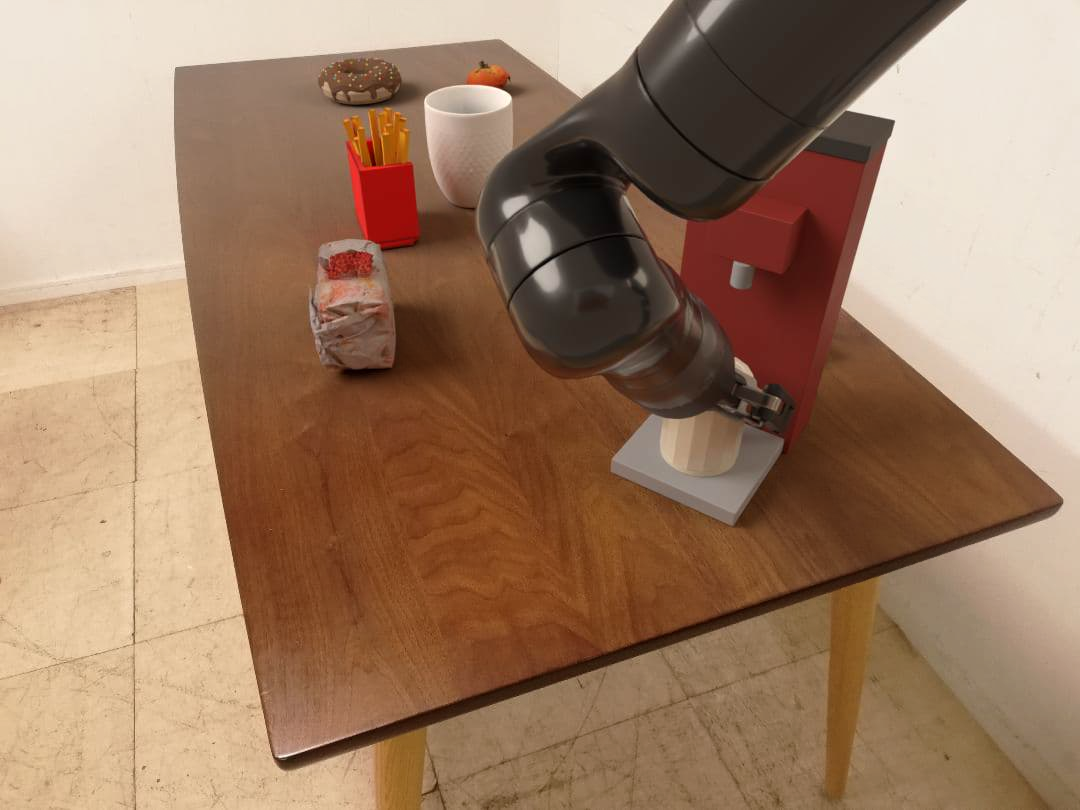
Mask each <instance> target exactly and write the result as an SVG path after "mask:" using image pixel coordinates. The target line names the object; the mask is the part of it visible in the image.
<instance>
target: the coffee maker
mask: <svg viewBox="0 0 1080 810" xmlns="http://www.w3.org/2000/svg"><path fill="white" fill-rule="evenodd" d="M895 123H896V120H895V119H890V118H887V117H886V118H885V117H881V116H877V115H871V114H867V113H861V112H857V111H852V110H848V109H847V110H846V111H845V112H844V113H843V114H841V115H840V116H839V117H838V118H837V119H836V120H835V121H834V122H833V123H832V124H831V125H830V126H829V127H828V128H827V129H826V130H824V131H823V132H822V133H821V134H820V135H819V136H818V137H817V138H816V139H815V140H814V141H813V142H812V143H810V144H809V145H808V146H807V147H806V148H805V149H804V150H803V151H802V152H801V153H800V154H799V155H798V156H796V157H795V158H794V159H793V160H792V161H791V162H790V163H789V164H788V165H787V166H786V167H785V168H784V169H783V170H781V171H780V172H779V173H778V174H777V175H776V176H774V178H773V179H772V180H771V181H769V182H768V183H767V184H766V185H765V186H764V187H763V188H762V189H761V190H760V191H759V192H758V193H757V194H755V195H754V196H753V197H752V198H751V199H750V200H749V201H747V202H746V203H745V204H744V205H743V206H741V207H740V208H738V209H737V210H736V211H734V212H733V213H731V214H730V215H728V216H726V217H724V218H721V219H719V220H715V221H711V222H694V221H689V220H686V226H685V234H684V241H683V247H682V248H683V250H682V257H681V264H680V272H679V276H680V277H681V279H682V280H683V281H684V283H685V284H686V286H687V287H688V288H689V289H690V290H691V291H692V292H694V293H695V294H696V295H697V296H698V297H699V298H700V299H701V300H702V301H703V302H704V303H705V304H706V306H707V307H708V308H709V310H710V311H711V313H712V314H713V316H714V317H715V318H716V320H717V321H718V323H719V324H720V325H721V327H722V328H723V330H724V331H725V333H726V334H727V336H728V338H729V339H730V342H731V344H732V347H733V351H734V357H736V358H738V359H739V360H741V361H742V362H743V363H745V364H746V365H747V366H748V367H749V369H750V370H751V372H752V374H753V375H754V378H755V379H756V381H757V387H758V388H759V389H761V390H764V387H765V385H769V383H772V384H775V383H777V384H779V385H781V386H782V387H783V388H784V389H786V390H787V392H788V393H789V394H790V395H791V397H792V398H793V399H794V401H795V402H796V403H797V406H796V408H795V410H794V413H793V415H792V418H791V420H790V422H789V425H788V427H787V429H786V432H785V434H784V435H781V434H779V435H777V434H774V433H772V431H771V430H769V429H768V428H767V427H765V426H764V427H763V429H762V430H758V429H756V428H753V427H752V426H751V425H750V424H749V423H748V422H747V421H745V425H744V430H743V434H742V439H741V444H740V448H739V453H738V456H737V460H736V462H735V464H734V465H733V467H732V468H731V469H729V470H728V471H727V472H725V473H723V474H720V475H717V476H712V477H697V476H691V475H687V474H684V473H682V472H679V471H678V470H676V469H674V468H673V467H671V466H670V465H669V464H668V463H667V462H666V461H665V460H664V458H663V457H662V455H661V452H660V438H661V430H662V423H663V417H660V416H657V415H655V414H653V413H651V414H650V415H649V417H648V418H646V419H645V421H644V422H643V423H642V424H641V425H640V427H638V429H636V431H635V432H634V433H633V435H631V437H630V438H629V439H628V440H627V441H626V442H625V443H624V444H623V445H622V447H620V449H619V450H618V451H617V452H616V453H615V455H614V456H613V457H612V458H611V463H610V473H612V474H614V475H617V476H619V477H621V478H622V479H626V480H628V481H630V482H632V483H634V484H637V485H639V486H641V487H643V488H646V489H648V490H649V491H652V492H654V493H657V494H658V495H661V496H663V497H666V498H668V499H669V500H672V501H673V502H674V501H675V502H677V503H679V504H681V505H684V506H686V507H688V508H690V509H692V510H694V511H696V512H699V513H701V514H703V515H706V516H708V517H710V518H712V519H714V520H717V521H719V522H721V523H723V524H726V525H727V526H730V527H734V526H735V525H736V523H737V521H738V520H739V518H740V516H741V515H742V513H743V512H744V510H745V509H746V507H747V506H748V504H749V503H750V501H751V500H752V498H753V497H754V495H755V493H756V492H757V490H758V489H759V487H761V485H762V483H763V481H764V480H765V478H766V477H767V475H768V473H769V472H770V470H771V469H772V467H773V466H774V465H775V463H776V461H777V460H778V458H780V456H781V454H782V453H784V454H789V453H790V451H791V449H792V448H793V446H794V444H795V443H796V441H797V440H798V438H799V437H800V435H801V434H802V432H803V431H804V429H805V427H806V426H807V424H808V423H809V422H810V419H811V415H812V412H813V408H814V405H815V401H816V399H817V394H818V390H819V387H820V383H821V379H822V376H823V372H824V369H825V365H826V362H827V358H828V356H829V352H830V349H831V344H832V340H833V336H834V333H835V330H836V326H837V324H838V323H837V322H838V319H839V315H840V312H841V309H842V305H843V301H844V298H845V295H846V291H847V288H848V284H849V280H850V277H851V273H852V270H853V266H854V262H855V259H856V255H857V252H858V248H859V245H860V241H861V238H862V233H863V231H864V227H865V223H866V220H867V216H868V214H869V213H868V212H869V208H870V205H871V202H872V199H873V195H874V191H875V188H876V184H877V180H878V178H879V173H880V169H881V167H882V163H883V159H884V155H885V152H886V149H887V145H888V141H889V139H890V138H891V137H892V134H893V130H894V127H895ZM751 408H752V405H750V404H749V407H748V411H747V413H750V410H751Z"/></svg>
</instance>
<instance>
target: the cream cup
mask: <svg viewBox="0 0 1080 810" xmlns="http://www.w3.org/2000/svg"><path fill="white" fill-rule="evenodd" d="M734 358H735V368H737V369H739V370H740V371H742V372H744V373H746V374H748V375H750V376H751V377H753V378H754V375H753V374H752V372H751V370H750V369H749V367H748V366H747V365H746V364H745V363H743V362H742V361H741V360H739V359H738V358H736V357H734ZM717 405H719V406H721V407H723V408H725V407H726V406H727V405H721V404H717ZM748 407H749V403H748V405H747V408H746V411H748ZM744 425H745V420H743V419H742V420H741V421H739V422H736V421H732V420H729V419H726V418H723V417H721V416H719V415H717V414H715V413H713V412H711V411H705V412H703V413H701V414H699V415H696V416H693V417H690V418H685V419H668V418H663V423H662V430H661V438H660V452H661V455H662V457H663V458H664V460H665V461H666V462H667V463H668V464H669V465H670V466H671V467H673V468H674V469H676V470H678V471H679V472H682V473H684V474H687V475H691V476H697V477H712V476H717V475H720V474H723V473H725V472H727V471H728V470H729V469H731V468H732V467H733V465H734V464H735V462H736V460H737V456H738V453H739V448H740V444H741V439H742V434H743V430H744Z"/></svg>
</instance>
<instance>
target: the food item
mask: <svg viewBox="0 0 1080 810" xmlns="http://www.w3.org/2000/svg"><path fill="white" fill-rule="evenodd" d="M317 255H318V267H317V273H316V274H317V284H316V285H315V290H314V291H315V292H314V291H313V287H312V284H311V283H309V286H308V290H309V293H308V300H309V301H308V303H309V306H308V310H309V321H310V326H311V327H310V328H311V331H312V332H311V333H312V335H313V337H314V339H315V340H314V342H315V348H316V352H317V354H318V357H319V359H320V363H321V365H322V366H323V367H324V368H325V369H326V370H327V371H328V370H329V369H331V370H332V371H334V370H345V371H346V370H353V371H356V370H376V369H379V370H381V369H392V368H393V365H394V364H395V356H396V342H397V332H396V321H395V320H396V319H395V312H394V311H395V310H394V309H395V308H396V305H395V303H393V298H392V291H391V287H390V282H389V280H388V279H389V278H388V276H387V275H388V274H387V270H386V269H387V268H388V266H387V263H386V258H385V257H384V254H383V252H382V249H381V250H380V245H379V244H375V243H373V242H372V241H368V240H365V239H357V238H345V239H340V240H333V241H329V242H324V243H323V244H321V245H320V246H319V247H318V253H317ZM313 293H314V295H313Z"/></svg>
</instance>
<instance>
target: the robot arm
mask: <svg viewBox="0 0 1080 810" xmlns="http://www.w3.org/2000/svg"><path fill="white" fill-rule="evenodd" d="M967 1H968V0H672V1H671V2H670V4H669V5H668V6H667V8H666V9H665V10H664V11H663V12H662V14H661V15H660V17H658V19H657V20H656V22H654V24H653V25H652V27H650V29H649V30H648V32H647V33H646V34H645V36H644V37H643V38H642V40H641V41H640V43H639V44H637V46H636V47H635V49H634V50H633V51H632V53H631V54H630V56H629V57H628V58H627V60H626V61H625V62H624V63H623V65H622V66H621V67H620V68H618V70H617V71H616V72H615V73H613V74H611V76H609V77H608V78H607V79H605V80H604V81H603V82H602V83H600V84H599V85H597V86H596V87H594V88H593V89H592V90H591V91H589V92H588V93H587V94H585V95H584V96H583V97H581V98H580V99H579V100H577V101H576V102H575V103H573V104H572V105H571V106H570V107H568V108H567V109H566V110H564V111H563V112H562V113H560V114H558V116H557V117H555V118H554V119H553V120H551V121H550V122H549V123H547V124H545V125H544V126H543V127H541V129H539V130H537V131H536V132H535V133H534V134H533V133H532V135H530V136H529V137H527V138H526V139H524V141H522V142H520V143H519V144H518V145H517V146H515V147H513V149H512V150H511V151H510V152H509V153H507V154H506V155H505V156H504V157H503V158H501V160H500V161H499V162H498V163H497V164H496V165H495V166H494V167H493V169H492V170H491V172H490V173H489V174H488V176H487V178H486V180H485V182H484V184H483V186H482V188H481V191H480V194H479V197H478V200H477V204H476V208H474V210H475V211H474V218H473V220H474V232H475V237H476V240H477V244H478V246H479V249H480V251H481V254H482V256H483V258H484V260H485V263H486V265H487V268H488V269H489V272H490V274H491V276H492V279H493V281H494V284H495V286H496V288H497V290H498V293H499V295H500V297H501V300H502V302H503V305H504V307H505V309H506V312H507V314H508V316H509V320H510V321H511V324H512V326H513V329H514V331H515V334H516V335H517V338H518V340H519V341H520V344H521V345H522V347H523V348H524V350H525V351H526V354H528V355H529V357H530V358H531V359H532V360H533V362H534V363H535V364H536V365H537V366H539V368H540V369H541V370H543V371H544V372H545V373H546V374H548V375H550V376H552V377H553V378H557V379H560V380H568V381H569V380H583V379H587V378H592V377H597V376H602V377H603V378H604V379H605V381H607V383H608V384H609V385H610V386H611V387H612V388H613V389H615V391H617V392H618V393H620V394H621V395H622V396H624V397H626V398H627V399H629V400H630V401H632V402H633V403H635V404H636V405H638V406H640V407H641V408H643V409H645V410H646V412H647V411H648V412H649V413H651V414H652V413H653V414H655V415H657V416H660V417H663V418H668V419H685V418H690V417H693V416H696V415H699V414H701V413H703V412H705V411H711V412H713V413H715V414H717V415H719V416H721V417H723V418H726V419H729V420H732V421H736V422H739V421H741V420H742V419H743V420H745V421H747V422H748V423H749V424H750V425H751V426H752V427H753V428H756V429H758V430H762V429H763V427H764V426H765V427H767V428H768V429H769V430H771V431H772V433H774V434H777V435H779V434H781V435H784V434H785V432H786V429H787V427H788V425H789V422H790V420H791V418H792V415H793V413H794V410H795V408H796V406H797V403H796V402H795V401H794V399H793V398H792V397H791V395H790V394H789V393H788V392H787V390H786V389H784V388H783V387H782V386H781V385H779V384H777V383H775V384H772V383H769V385H765V387H764V390H761V389H759V388H758V387H757V381H756V379H755V378H753V377H751V376H750V375H748V374H746V373H744V372H742V371H740V370H739V369H737V368H735V358H734V351H733V347H732V344H731V342H730V339H729V338H728V336H727V334H726V333H725V331H724V330H723V328H722V327H721V325H720V324H719V323H718V321H717V320H716V318H715V317H714V316H713V314H712V313H711V311H710V310H709V308H708V307H707V306H706V304H705V303H704V302H703V301H702V300H701V299H700V298H699V297H698V296H697V295H696V294H695V293H694V292H692V291H691V290H690V289H689V288H688V287H687V286H686V284H685V283H684V281H683V280H682V279H681V277H680V274H678V272H677V271H676V270H675V269H674V268H673V266H671V265H670V264H669V263H668V262H667V261H666V260H664V259H663V258H661V257H660V256H658V255H657V253H656V251H655V249H654V247H653V245H652V244H651V241H650V239H649V237H648V236H647V233H646V231H645V229H644V228H643V226H642V224H641V221H640V220H639V218H638V215H637V213H636V212H635V210H634V208H633V205H632V204H631V202H630V200H629V198H628V196H627V192H628V190H629V188H630V187H631V185H633V186H634V187H636V189H638V190H639V191H640V192H641V193H642V194H643V195H644V196H645V197H646V198H647V199H649V200H650V201H651V202H653V203H654V204H655V205H656V206H658V207H659V208H661V209H662V210H663V211H664V212H667V213H669V214H671V215H672V216H675V217H678V218H679V219H682V220H686V221H687V220H689V221H694V222H711V221H715V220H719V219H721V218H724V217H726V216H728V215H730V214H731V213H733V212H734V211H736V210H737V209H738V208H740V207H741V206H743V205H744V204H745V203H746V202H747V201H749V200H750V199H751V198H752V197H753V196H754V195H755V194H757V193H758V192H759V191H760V190H761V189H762V188H763V187H764V186H765V185H766V184H767V183H768V182H769V181H771V180H772V179H773V178H774V176H776V175H777V174H778V173H779V172H780V171H781V170H783V169H784V168H785V167H786V166H787V165H788V164H789V163H790V162H791V161H792V160H793V159H794V158H795V157H796V156H798V155H799V154H800V153H801V152H802V151H803V150H804V149H805V148H806V147H807V146H808V145H809V144H810V143H812V142H813V141H814V140H815V139H816V138H817V137H818V136H819V135H820V134H821V133H822V132H823V131H824V130H826V129H827V128H828V127H829V126H830V125H831V124H832V123H833V122H834V121H835V120H836V119H837V118H838V117H839V116H840V115H841V114H843V113H844V112H845V111H846V110H847V111H848V109H850V107H852V106H853V104H854V103H856V101H858V100H859V99H860V98H861V97H862V96H863V95H864V94H865V93H866V92H867V91H868V90H870V89H871V88H872V86H874V85H875V84H876V83H877V82H878V81H879V80H880V79H881V78H883V76H884V75H886V73H888V72H889V71H890V70H891V69H892V68H893V67H894V66H896V64H897V63H899V62H900V61H901V60H902V59H903V58H904V57H905V56H906V55H908V53H910V52H911V50H913V49H914V48H915V47H916V46H918V44H919V43H921V42H922V41H923V40H924V39H925V38H926V37H927V36H929V34H931V33H932V32H933V31H934V30H935V29H936V28H937V27H938V26H940V25H941V24H942V23H943V22H944V21H945V20H946V19H948V18H949V17H950V16H951V15H952V14H953V13H955V11H956V10H958V9H959V8H960V7H961V6H962V5H963V4H965V3H966V2H967ZM748 403H749V404H750V405H752V408H751V410H750V413H747V411H746V408H747V405H748ZM717 404H721V405H727V406H726V407H725V408H723V407H721V406H719V405H717Z"/></svg>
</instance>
